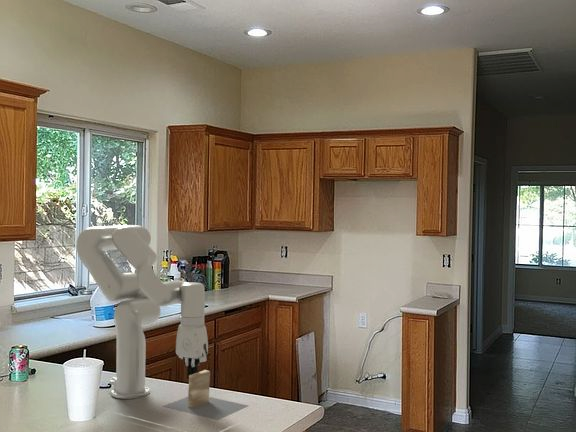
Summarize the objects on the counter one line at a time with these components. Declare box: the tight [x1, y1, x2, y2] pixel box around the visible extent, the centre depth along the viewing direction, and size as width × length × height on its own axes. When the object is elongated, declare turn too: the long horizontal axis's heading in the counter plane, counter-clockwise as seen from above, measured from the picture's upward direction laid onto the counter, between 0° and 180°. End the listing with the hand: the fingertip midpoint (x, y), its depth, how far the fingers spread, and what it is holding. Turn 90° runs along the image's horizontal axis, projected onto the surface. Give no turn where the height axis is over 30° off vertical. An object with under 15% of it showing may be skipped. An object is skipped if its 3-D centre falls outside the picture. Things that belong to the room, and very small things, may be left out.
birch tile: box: [187, 369, 211, 408], centre depth 201 cm, size 2×8×10 cm, turn 149°
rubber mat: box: [162, 396, 249, 421], centre depth 200 cm, size 22×16×1 cm
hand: (192, 378), depth 202 cm, fingers closed
